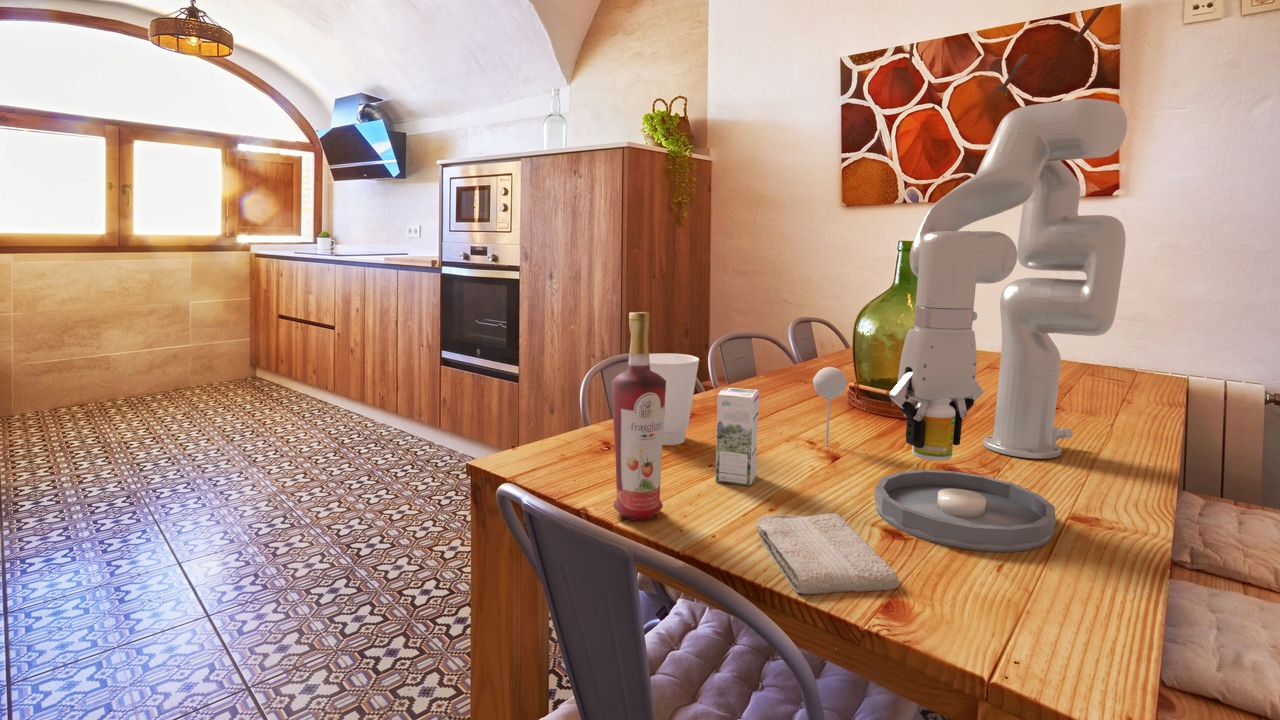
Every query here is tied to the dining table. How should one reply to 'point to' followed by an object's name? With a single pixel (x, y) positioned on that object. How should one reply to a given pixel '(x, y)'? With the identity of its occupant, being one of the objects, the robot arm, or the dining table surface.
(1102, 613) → the dining table surface
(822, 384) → the lollipop
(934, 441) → the supplement bottle
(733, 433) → the syrup box
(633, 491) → the liquor
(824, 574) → the washcloth
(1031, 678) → the dining table surface
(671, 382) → the cup
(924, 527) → the ring tray
